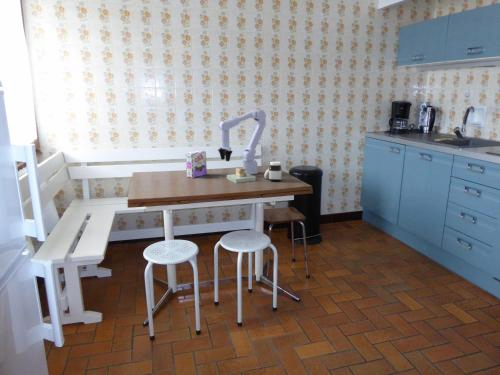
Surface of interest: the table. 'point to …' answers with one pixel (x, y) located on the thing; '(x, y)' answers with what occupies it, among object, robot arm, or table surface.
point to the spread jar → (274, 172)
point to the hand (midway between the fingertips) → (225, 160)
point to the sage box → (241, 178)
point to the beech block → (241, 172)
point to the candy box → (196, 164)
